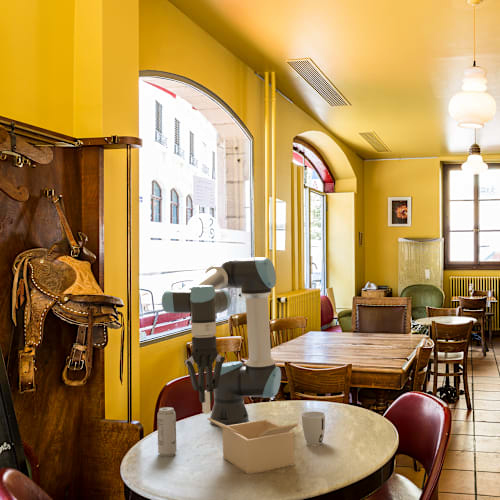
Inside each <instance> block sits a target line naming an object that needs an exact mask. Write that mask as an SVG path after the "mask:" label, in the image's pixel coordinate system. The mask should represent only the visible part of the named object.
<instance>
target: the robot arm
mask: <svg viewBox="0 0 500 500" xmlns="http://www.w3.org/2000/svg"><path fill="white" fill-rule="evenodd" d="M276 285H277V275H276V269H275V265H274V264H273V262H272V260H271V259H269V258H268V257H262V256H261V257H260V256H257V257H241V258H240V257H237V258H236V257H233V258H228V259H225V260H222V261H220V262H219V261H218V262H217V263H215V264H213V265H211V266H210V267H208V269H206V270H205V273H204V274H202V275H201V276H199V277H197V278H195V279H194V280H192V281H191V282H189V283H187V284H186V285H184V286H182V287H181V288H179V289H177V290H174V289H172V290H171V289H170V290H166V291H164V292H163V294H162V296H161V306H162V309H163V311H164V312H166V313H167V314H168V313H169V314H171V313H172V314H190V315H191V320H190V321H191V335H192V337H191V346H192V347H191V349H192V351H191V354H190V357H189V358H188V359H185V360H184V362H183V363H184V365H185V366H186V367H187V371H188V373H189V378H190V381H191V385H192V389H193V390H194V391H196V392H198V393H199V395H198V396H199V402H200V403H201V405H202V407H201V408H202V413H203V414H207V415H208V414H210V416H209V417H210V419H212V420H215V421H217V422H219V423H222V424H224V425H226V426H228V425H234V424H241V423H247V422H250V420H249V413H248V410H247V408H246V405H245V401H244V397H248V398H249V397H250V398H252V397H253V398H263V399H266V398H273V397H276V396H277V394H278V392H279V389H280V386H281V380H282V372H281V371H282V370H281V367H279V366H276V360H274V359H273V358H272V351H271V350H272V349H271V335H270V334H271V330H270V313H269V296H270V295H271V293H272V292H273V291H272V289H273V288H275V287H276ZM225 289H241V290H240V292H241V293H240V294H242V296H243V297H245V309H246V326H247V329H246V330H247V344H248V345H247V347H248V359H247V361H245V365H244V363H243V362H242V361H228V362H225V360H226V357H225V356H223V355H221V354H219V351H218V350H217V335H216V334H217V324H216V323H217V319H216V318H217V317H216V314H220V313H224V312H225V311H227V310H228V309H229V307H230V306H231V303H232V298H231V295H230V293H229V292H228V291H227V290H225ZM214 363H215V365H214ZM194 364H196V365H197V374H196V370H195V367H194ZM211 402H214V403H213V406H212V410H211ZM209 423H210V424H211V425H213V426H215V427H219V426H218V425H217V424H215V423H213V422H211V421H210V420H209Z"/></svg>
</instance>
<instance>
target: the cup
mask: <svg viewBox="0 0 500 500" xmlns="http://www.w3.org/2000/svg"><path fill="white" fill-rule="evenodd" d="M301 421H302V422H301V423H302V425H301V426H302V430H303V434H304V439H305V442H306V444H307V445H308V444H309V445H308V446H312V445H317V446H321V445H322V444H323V442H324V441H323V440H324V436H325V428H326V413H325V412H322V411H313V410H311V411H305V412H302V413H301ZM320 444H321V445H320Z"/></svg>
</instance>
